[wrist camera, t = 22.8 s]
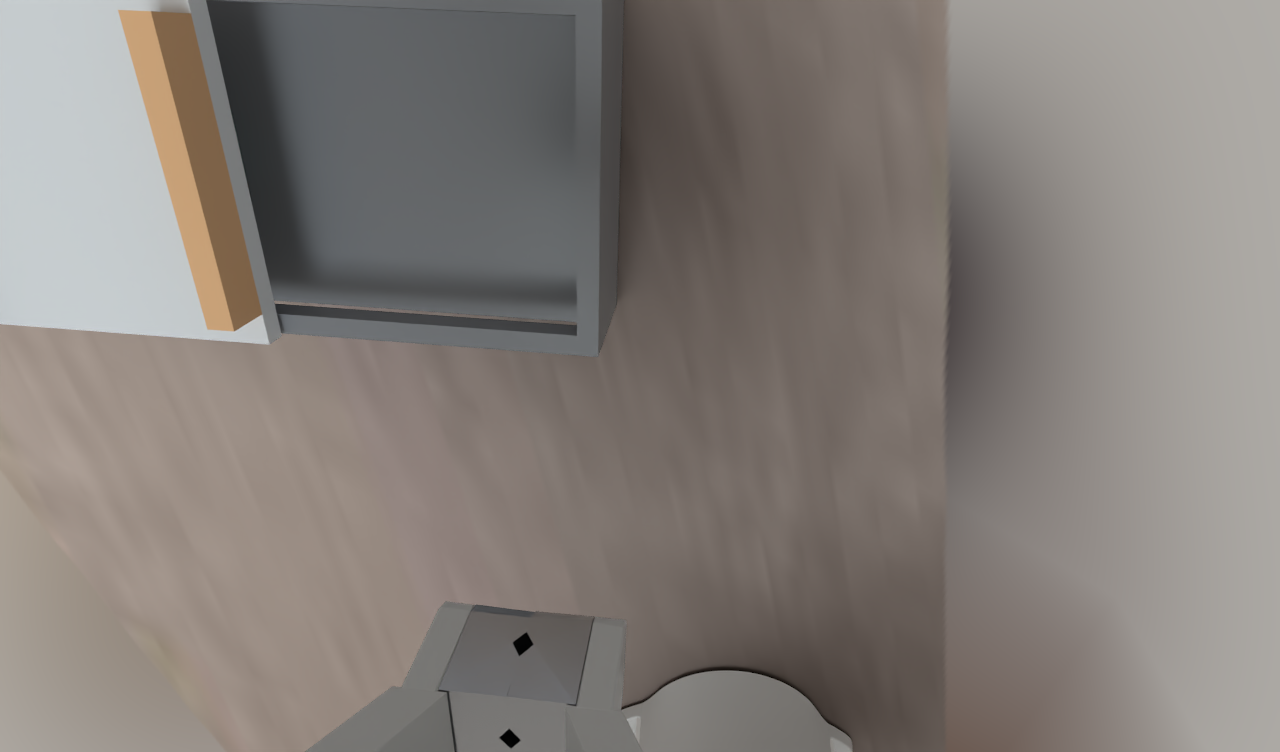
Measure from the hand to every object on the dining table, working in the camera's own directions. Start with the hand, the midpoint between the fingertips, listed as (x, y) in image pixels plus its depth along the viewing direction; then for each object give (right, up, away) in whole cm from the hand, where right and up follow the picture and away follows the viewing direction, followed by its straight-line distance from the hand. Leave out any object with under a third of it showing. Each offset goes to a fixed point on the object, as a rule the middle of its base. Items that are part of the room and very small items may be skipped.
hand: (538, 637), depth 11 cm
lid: (-22, +13, +18) cm, 31 cm away
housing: (-14, +16, +24) cm, 32 cm away
